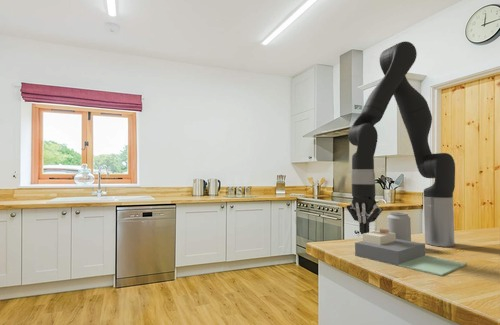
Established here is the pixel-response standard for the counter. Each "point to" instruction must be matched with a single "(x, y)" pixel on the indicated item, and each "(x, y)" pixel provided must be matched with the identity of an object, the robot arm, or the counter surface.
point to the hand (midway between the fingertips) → (364, 234)
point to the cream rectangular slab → (379, 237)
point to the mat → (432, 265)
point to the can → (399, 225)
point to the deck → (390, 251)
